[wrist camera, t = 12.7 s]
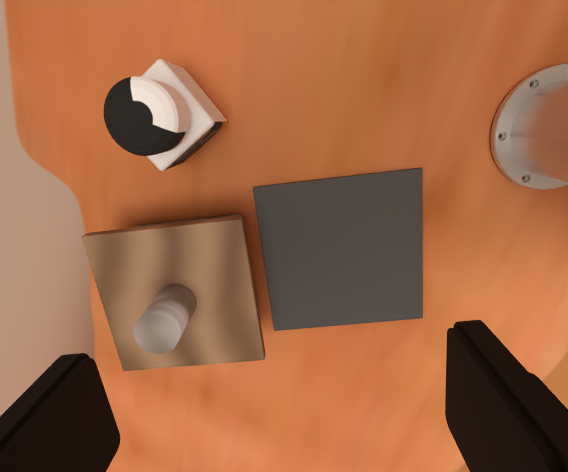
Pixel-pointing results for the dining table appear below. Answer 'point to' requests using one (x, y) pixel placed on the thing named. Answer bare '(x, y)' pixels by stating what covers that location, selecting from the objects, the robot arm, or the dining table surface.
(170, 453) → the dining table surface
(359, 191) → the rubber mat
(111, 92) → the medicine bottle
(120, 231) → the walnut lid
